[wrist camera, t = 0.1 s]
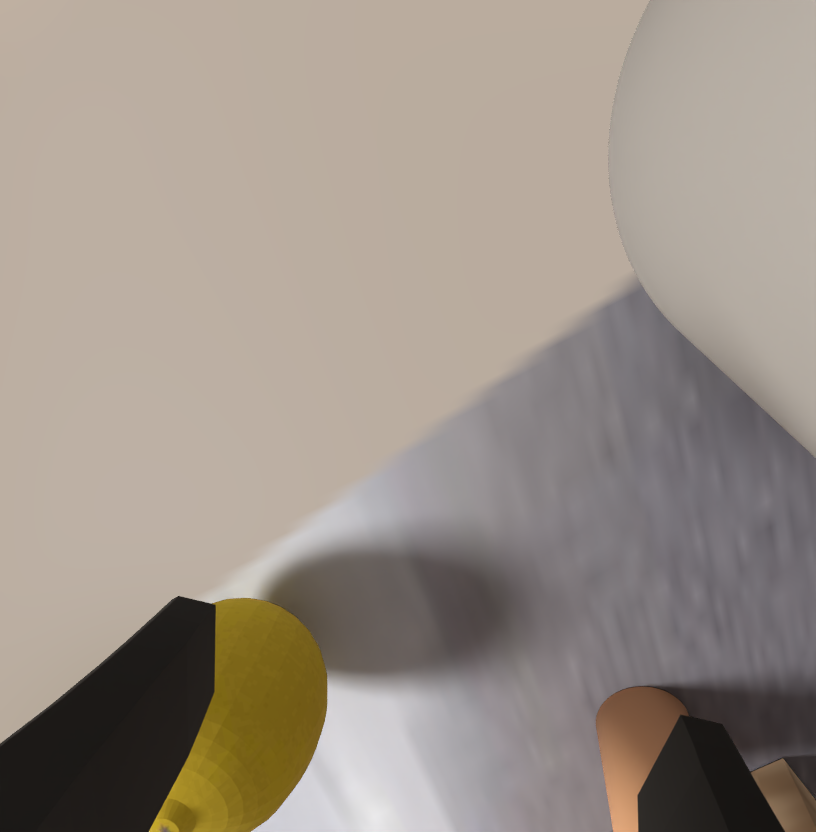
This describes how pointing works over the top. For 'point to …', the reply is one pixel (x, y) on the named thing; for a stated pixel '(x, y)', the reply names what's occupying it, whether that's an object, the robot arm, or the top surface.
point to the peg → (633, 745)
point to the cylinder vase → (726, 188)
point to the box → (787, 797)
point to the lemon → (251, 722)
